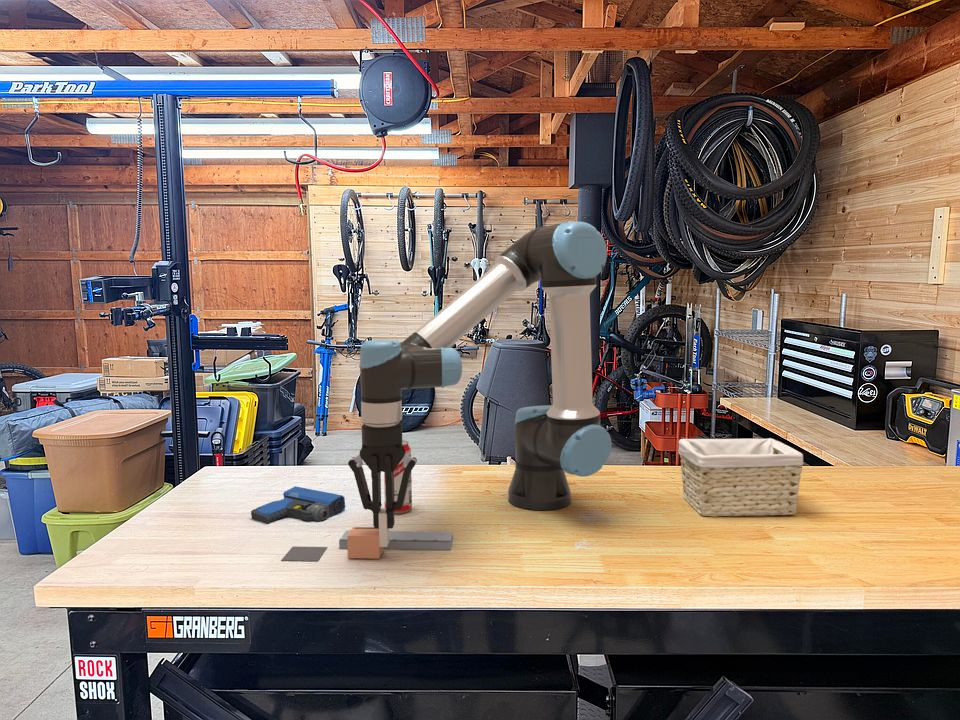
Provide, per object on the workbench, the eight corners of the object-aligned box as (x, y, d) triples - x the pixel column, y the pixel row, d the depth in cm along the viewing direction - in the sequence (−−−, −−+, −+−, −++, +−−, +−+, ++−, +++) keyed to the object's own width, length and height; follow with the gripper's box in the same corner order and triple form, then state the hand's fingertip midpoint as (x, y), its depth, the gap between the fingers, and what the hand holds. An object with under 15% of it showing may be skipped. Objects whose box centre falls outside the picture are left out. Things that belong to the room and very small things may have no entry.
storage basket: (696, 519, 140) (698, 454, 139) (674, 495, 156) (676, 437, 155) (804, 519, 140) (807, 454, 139) (771, 495, 156) (774, 437, 155)
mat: (327, 547, 125) (327, 546, 125) (317, 561, 119) (317, 560, 119) (292, 547, 125) (292, 546, 125) (281, 560, 119) (281, 560, 119)
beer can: (407, 515, 143) (406, 446, 141) (380, 514, 144) (379, 445, 142) (415, 506, 149) (414, 440, 147) (390, 504, 150) (388, 439, 148)
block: (383, 548, 124) (383, 526, 123) (379, 558, 119) (378, 535, 119) (353, 548, 124) (352, 526, 123) (347, 558, 120) (347, 535, 119)
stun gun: (299, 520, 133) (345, 493, 146) (246, 508, 140) (295, 483, 153) (301, 538, 134) (347, 509, 147) (249, 525, 141) (297, 499, 154)
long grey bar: (452, 539, 129) (452, 530, 129) (450, 550, 124) (450, 541, 124) (346, 537, 130) (345, 529, 130) (339, 548, 125) (339, 539, 125)
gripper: (419, 418, 122) (420, 536, 124) (352, 418, 122) (355, 536, 125) (413, 427, 114) (415, 552, 117) (342, 426, 115) (345, 551, 117)
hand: (384, 543), depth 121 cm, fingers closed
